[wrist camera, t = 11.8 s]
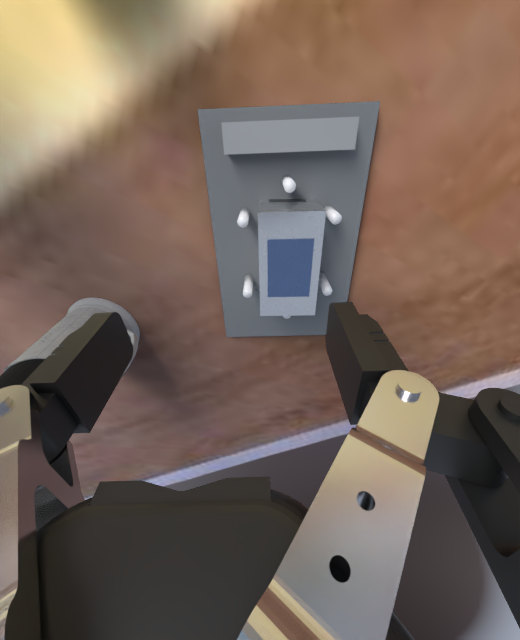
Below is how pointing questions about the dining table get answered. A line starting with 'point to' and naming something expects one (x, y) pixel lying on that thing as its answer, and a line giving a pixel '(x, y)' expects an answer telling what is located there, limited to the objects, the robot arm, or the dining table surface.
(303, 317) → the grey tapered peg board
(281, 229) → the block
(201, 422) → the dining table surface
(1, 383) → the white and black mug
